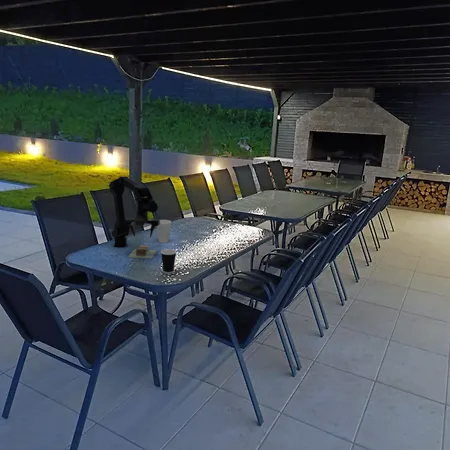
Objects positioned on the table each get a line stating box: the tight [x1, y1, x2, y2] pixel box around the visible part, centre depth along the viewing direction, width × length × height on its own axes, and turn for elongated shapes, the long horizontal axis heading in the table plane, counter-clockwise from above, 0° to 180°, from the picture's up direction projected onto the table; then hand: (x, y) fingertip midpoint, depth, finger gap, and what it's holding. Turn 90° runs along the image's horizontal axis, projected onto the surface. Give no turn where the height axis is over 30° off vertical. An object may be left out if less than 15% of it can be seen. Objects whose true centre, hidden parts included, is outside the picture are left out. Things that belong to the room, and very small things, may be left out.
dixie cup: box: [160, 248, 177, 275], centre depth 200 cm, size 8×8×11 cm
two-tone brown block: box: [136, 245, 150, 256], centre depth 227 cm, size 10×5×3 cm, turn 179°
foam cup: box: [156, 219, 172, 244], centre depth 254 cm, size 10×9×13 cm
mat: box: [128, 248, 157, 260], centre depth 227 cm, size 13×13×1 cm
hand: (142, 236), depth 225 cm, fingers open, 9 cm apart
